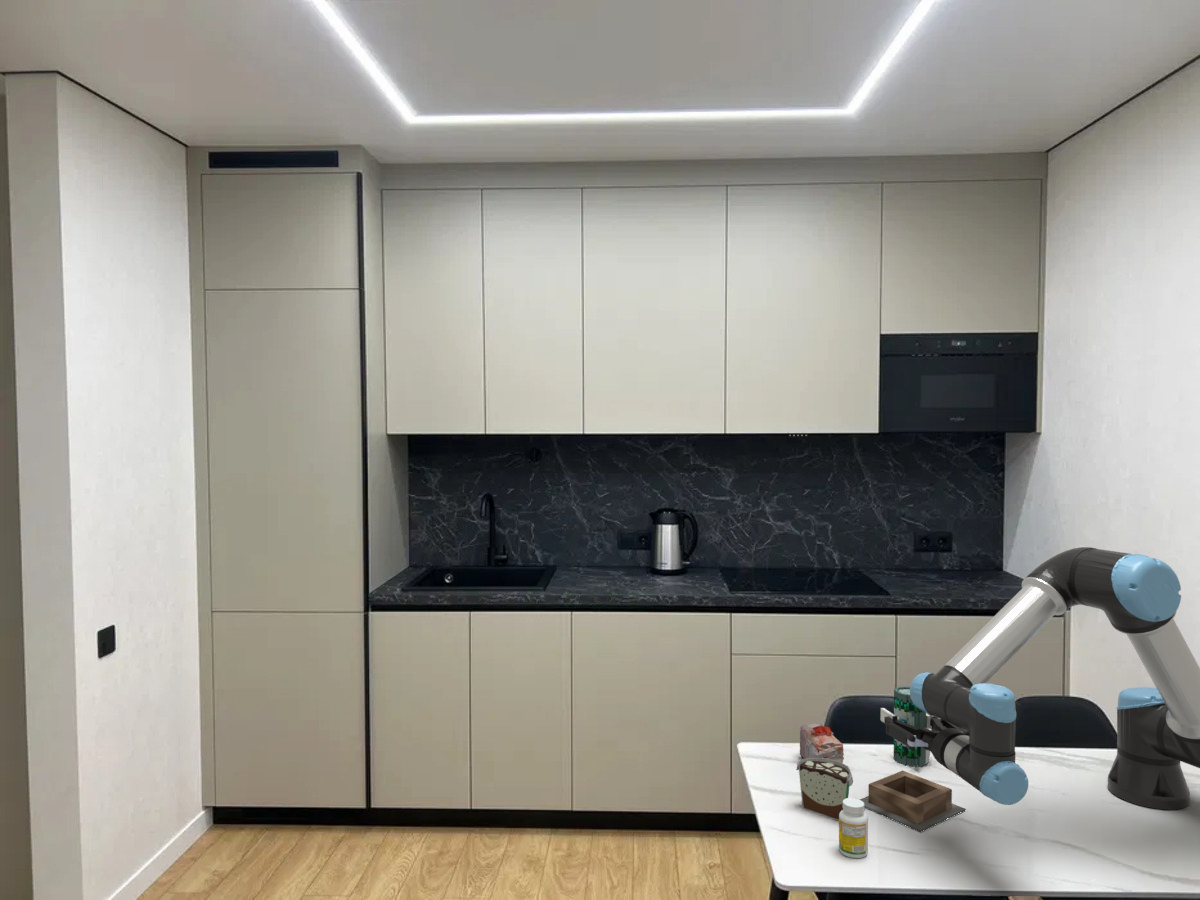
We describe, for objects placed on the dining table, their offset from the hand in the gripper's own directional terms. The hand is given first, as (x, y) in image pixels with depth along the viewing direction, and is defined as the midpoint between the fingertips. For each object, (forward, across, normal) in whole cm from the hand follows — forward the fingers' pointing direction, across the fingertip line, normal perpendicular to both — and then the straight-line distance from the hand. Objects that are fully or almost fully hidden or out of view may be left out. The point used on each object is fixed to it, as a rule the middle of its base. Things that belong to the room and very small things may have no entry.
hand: (897, 713), depth 185 cm
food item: (+18, -9, -19) cm, 28 cm away
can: (-5, 0, -9) cm, 10 cm away
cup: (+16, +14, -19) cm, 28 cm away
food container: (-3, -17, -19) cm, 26 cm away
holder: (-5, 0, -18) cm, 19 cm away
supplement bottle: (-20, -20, -19) cm, 34 cm away
